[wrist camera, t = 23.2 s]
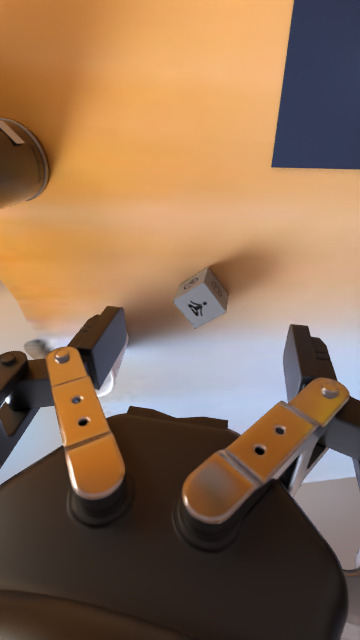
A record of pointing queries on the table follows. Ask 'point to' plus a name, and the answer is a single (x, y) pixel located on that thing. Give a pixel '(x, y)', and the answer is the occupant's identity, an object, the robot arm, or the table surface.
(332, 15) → the paper sheet
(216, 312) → the dice cube
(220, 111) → the table surface
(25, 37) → the table surface
